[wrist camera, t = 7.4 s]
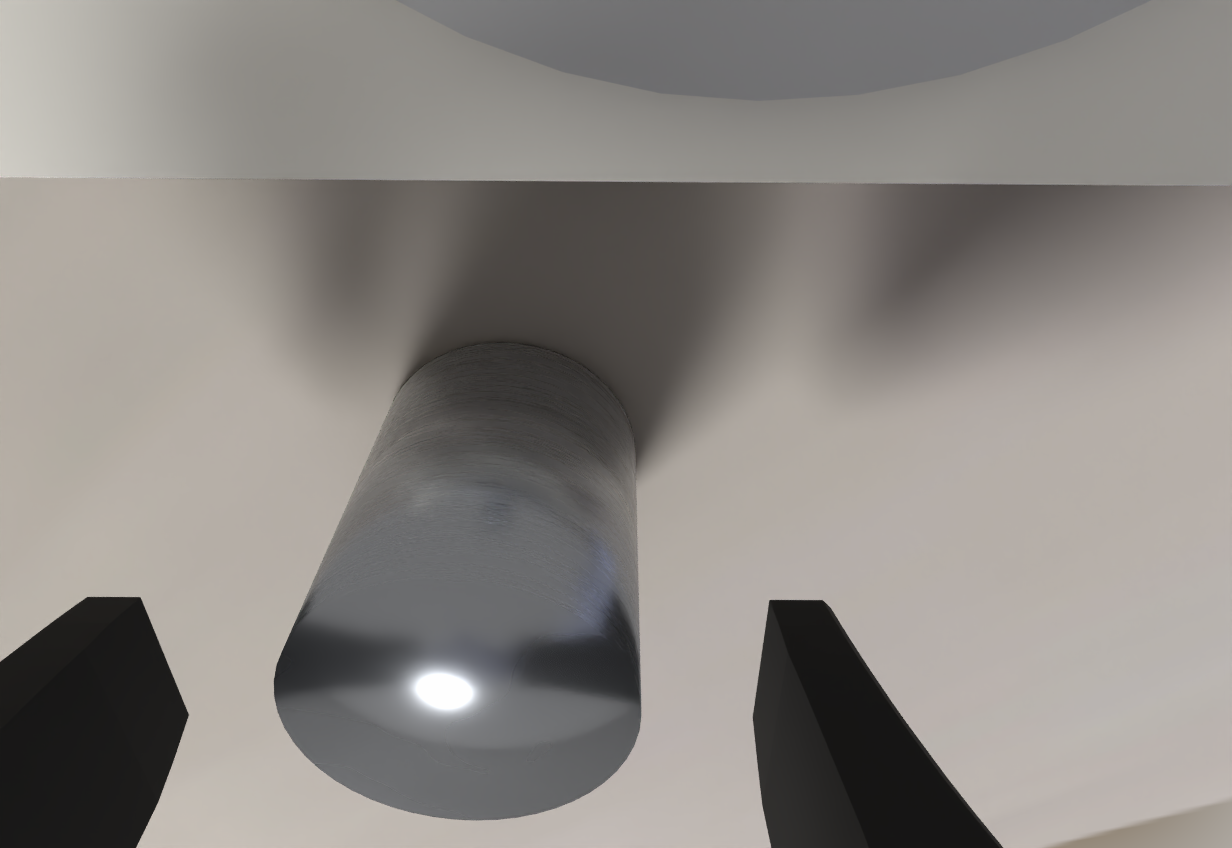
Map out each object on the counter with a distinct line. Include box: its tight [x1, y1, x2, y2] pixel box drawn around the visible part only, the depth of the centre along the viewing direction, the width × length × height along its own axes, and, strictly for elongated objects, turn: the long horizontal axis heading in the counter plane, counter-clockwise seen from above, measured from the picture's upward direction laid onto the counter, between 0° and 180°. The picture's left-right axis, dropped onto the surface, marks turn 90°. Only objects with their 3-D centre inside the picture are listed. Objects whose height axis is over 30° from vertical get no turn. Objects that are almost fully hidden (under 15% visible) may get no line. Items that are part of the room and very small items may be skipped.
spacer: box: [274, 343, 641, 820], centre depth 11 cm, size 4×4×5 cm
